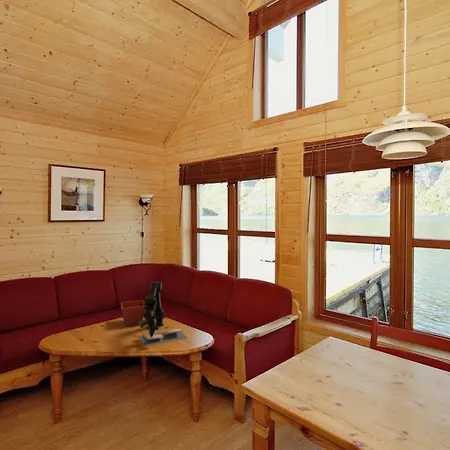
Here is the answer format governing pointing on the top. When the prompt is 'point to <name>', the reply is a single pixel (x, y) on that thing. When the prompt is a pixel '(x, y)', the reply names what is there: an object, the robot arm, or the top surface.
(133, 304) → the plant pot
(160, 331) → the light brown plank
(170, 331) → the beige flat square block
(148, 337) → the light beige plank
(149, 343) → the underlay
